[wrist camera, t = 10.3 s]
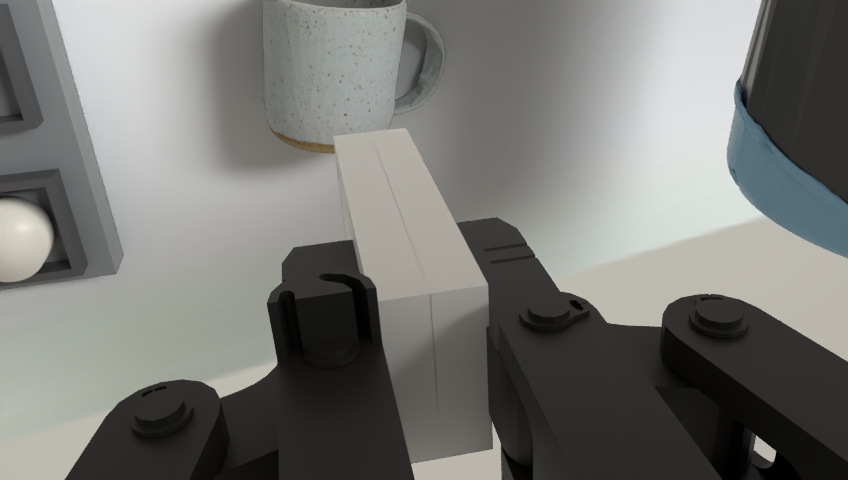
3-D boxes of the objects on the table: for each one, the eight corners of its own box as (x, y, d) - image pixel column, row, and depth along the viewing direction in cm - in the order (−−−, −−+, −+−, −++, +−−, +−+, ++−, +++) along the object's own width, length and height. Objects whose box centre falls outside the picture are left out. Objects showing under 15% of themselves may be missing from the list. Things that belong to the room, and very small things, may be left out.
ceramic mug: (264, 117, 45) (265, 161, 38) (261, -24, 41) (262, -3, 35) (433, 120, 47) (462, 162, 40) (444, -13, 44) (479, 8, 37)
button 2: (42, 190, 41) (32, 204, 39) (65, 259, 43) (56, 276, 41) (-42, 200, 41) (-56, 215, 39) (-15, 270, 43) (-27, 287, 41)
